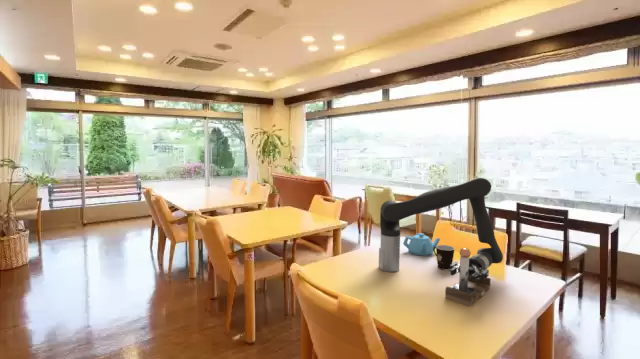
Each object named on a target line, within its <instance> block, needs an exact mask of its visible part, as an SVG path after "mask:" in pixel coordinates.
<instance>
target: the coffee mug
mask: <svg viewBox="0 0 640 359" xmlns="http://www.w3.org/2000/svg"><path fill="white" fill-rule="evenodd" d="M435 248H436V249H435ZM455 250H456V249H455V247H454V246H452V245H447V244H440V245H439V244H438V245H437V246H436V247H434V248H433V253H434V255H435V256H436V262H437V263H436V264H437V268H439V269H440V270H445V271H446V270H450V265H451V264H453V262H454V261H453V260H454V254H455Z"/></svg>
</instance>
